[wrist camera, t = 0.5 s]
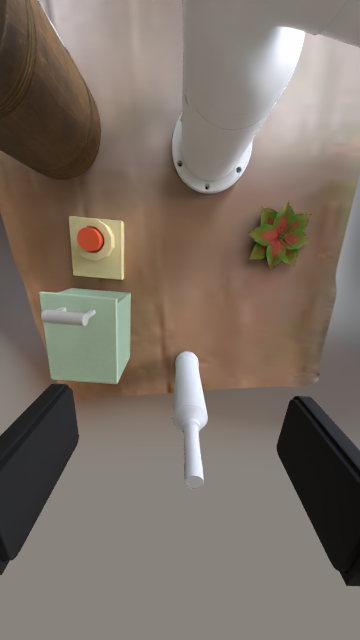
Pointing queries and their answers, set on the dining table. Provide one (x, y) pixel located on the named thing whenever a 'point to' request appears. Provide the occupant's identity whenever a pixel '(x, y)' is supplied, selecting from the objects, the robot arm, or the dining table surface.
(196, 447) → the bottle
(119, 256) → the control block
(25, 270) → the dining table surface
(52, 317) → the lid
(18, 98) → the wooden container
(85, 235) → the button
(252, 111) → the robot arm
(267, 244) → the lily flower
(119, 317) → the compartment
